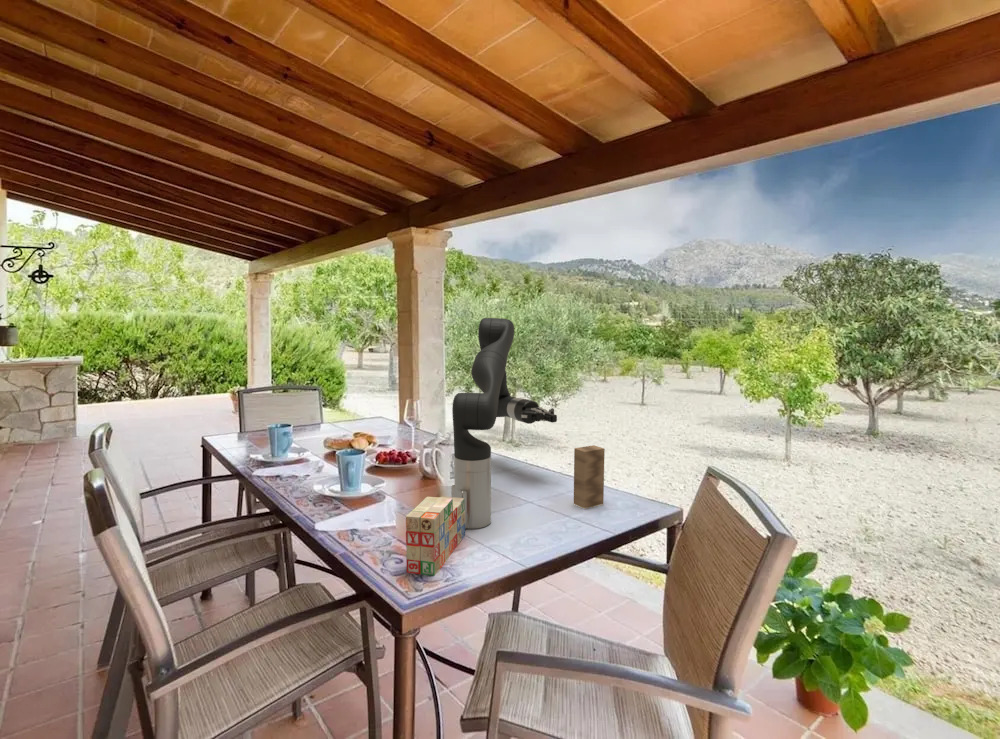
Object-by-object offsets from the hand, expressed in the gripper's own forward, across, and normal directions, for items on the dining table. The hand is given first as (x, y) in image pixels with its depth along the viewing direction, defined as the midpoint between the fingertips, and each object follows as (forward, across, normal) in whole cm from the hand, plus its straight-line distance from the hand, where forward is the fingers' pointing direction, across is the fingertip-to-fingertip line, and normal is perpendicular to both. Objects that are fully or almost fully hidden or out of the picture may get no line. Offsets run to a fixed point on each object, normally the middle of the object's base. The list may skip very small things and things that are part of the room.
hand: (554, 418), depth 163 cm
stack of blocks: (+23, -49, +22) cm, 58 cm away
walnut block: (+16, 0, +22) cm, 27 cm away
